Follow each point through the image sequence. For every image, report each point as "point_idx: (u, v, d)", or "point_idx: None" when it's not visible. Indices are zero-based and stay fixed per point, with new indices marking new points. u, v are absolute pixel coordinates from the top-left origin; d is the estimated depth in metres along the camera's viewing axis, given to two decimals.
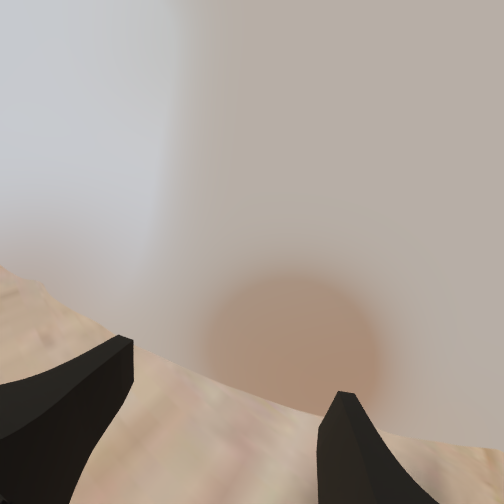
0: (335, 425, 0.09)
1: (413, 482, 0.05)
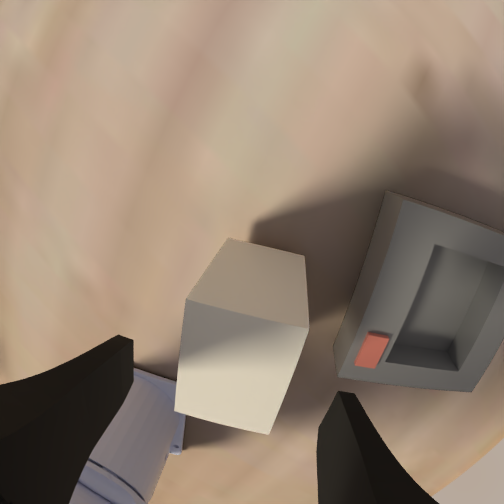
0: (335, 425, 0.09)
1: (413, 482, 0.05)
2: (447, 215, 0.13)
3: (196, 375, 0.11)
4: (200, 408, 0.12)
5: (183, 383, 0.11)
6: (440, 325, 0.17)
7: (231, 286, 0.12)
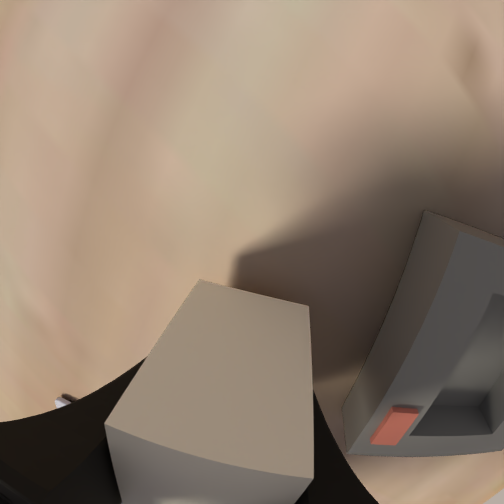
0: None
1: (357, 482, 0.06)
2: None
3: (144, 499, 0.06)
4: None
5: (130, 501, 0.06)
6: (476, 379, 0.12)
7: (186, 389, 0.06)
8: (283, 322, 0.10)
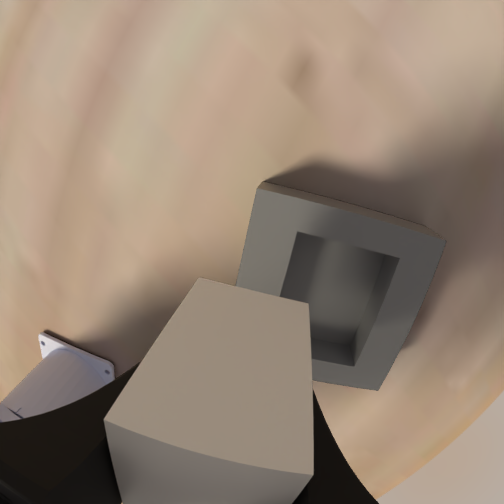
0: None
1: (358, 482, 0.06)
2: (308, 202, 0.15)
3: (143, 496, 0.06)
4: None
5: (129, 499, 0.06)
6: (336, 317, 0.19)
7: (186, 386, 0.06)
8: (283, 319, 0.10)
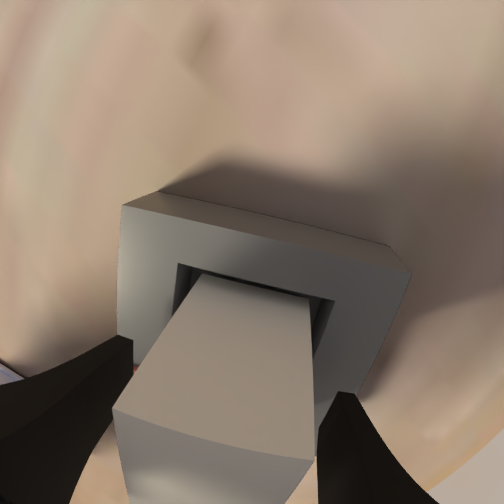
0: (335, 425, 0.09)
1: (413, 482, 0.05)
2: (188, 221, 0.10)
3: (148, 486, 0.06)
4: None
5: (135, 490, 0.07)
6: None
7: (191, 376, 0.07)
8: (284, 314, 0.10)
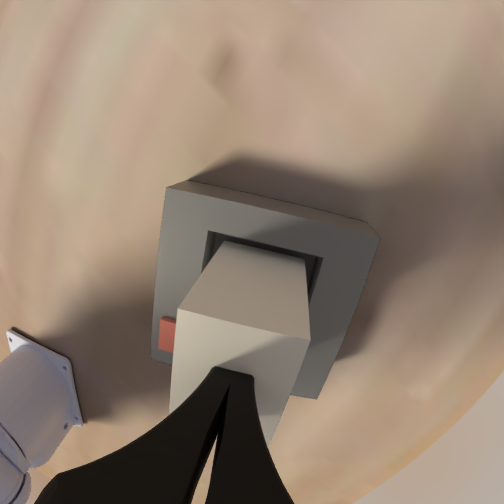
0: (225, 404, 0.09)
1: (273, 473, 0.06)
2: (217, 199, 0.14)
3: (190, 387, 0.10)
4: None
5: (177, 395, 0.11)
6: None
7: (227, 294, 0.11)
8: (286, 266, 0.14)
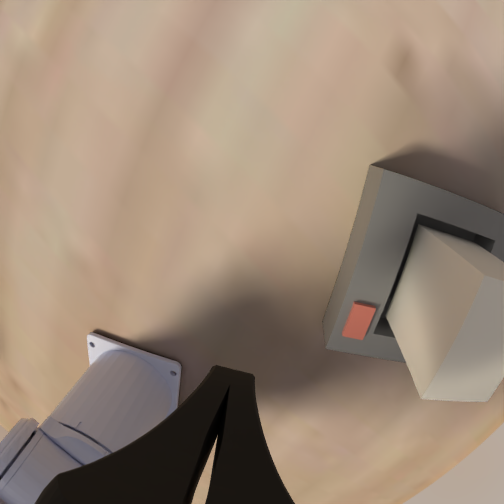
0: (225, 404, 0.09)
1: (273, 473, 0.06)
2: (428, 185, 0.14)
3: (462, 352, 0.10)
4: (448, 388, 0.10)
5: (447, 364, 0.10)
6: None
7: (485, 265, 0.10)
8: (476, 247, 0.14)
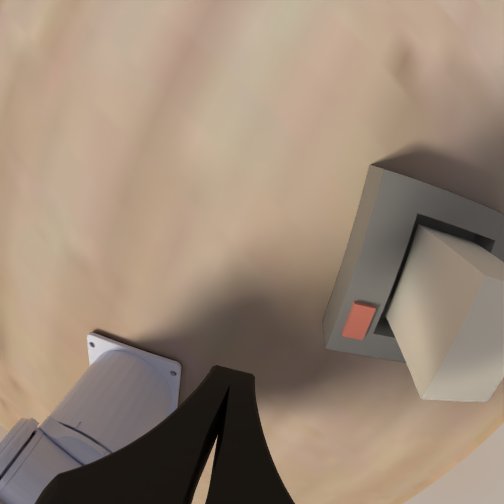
0: (225, 404, 0.09)
1: (273, 473, 0.06)
2: (428, 185, 0.14)
3: (462, 352, 0.10)
4: (448, 388, 0.10)
5: (447, 364, 0.10)
6: None
7: (485, 265, 0.10)
8: (476, 247, 0.14)
